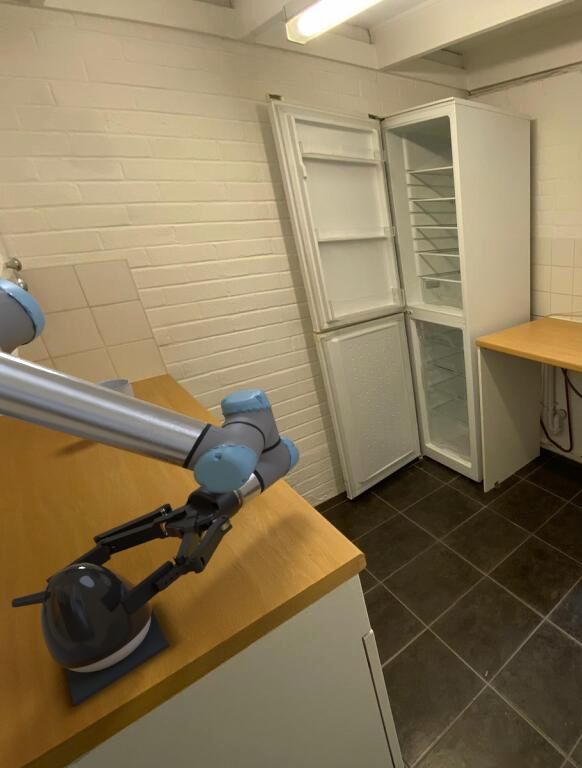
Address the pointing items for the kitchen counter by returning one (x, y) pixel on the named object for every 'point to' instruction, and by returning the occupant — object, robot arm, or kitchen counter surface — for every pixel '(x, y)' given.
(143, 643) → the mat
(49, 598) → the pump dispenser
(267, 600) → the kitchen counter surface
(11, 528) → the kitchen counter surface
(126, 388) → the teacup
